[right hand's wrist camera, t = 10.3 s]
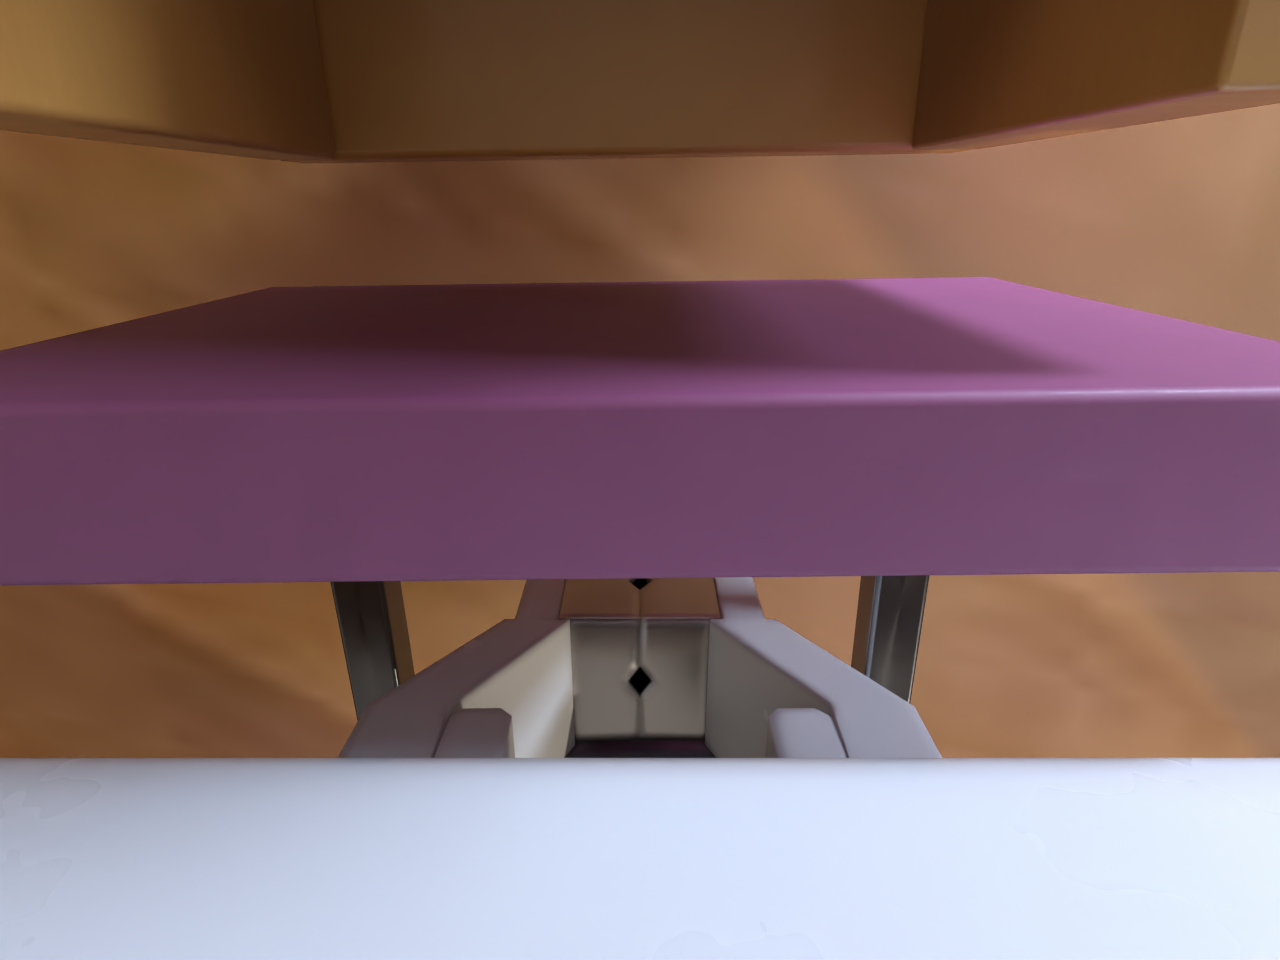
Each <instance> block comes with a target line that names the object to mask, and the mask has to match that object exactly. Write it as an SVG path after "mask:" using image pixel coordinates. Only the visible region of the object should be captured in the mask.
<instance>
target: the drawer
mask: <svg viewBox="0 0 1280 960" xmlns="http://www.w3.org/2000/svg"><path fill="white" fill-rule="evenodd" d="M1276 103H1280V0H0V130H5V131H15V132H24V133H33V134H42V135H51V136H60V137H69V138H78V139H87V140H97V141H106V142H115V143H124V144H133V145H142V146H151V147H160V148H170V149H179V150H188V151H197V152H206V153H215V154H224V155H233V156H242V157H252V158H261V159H270V160H281V161H288V162H298V163H359V162H422V161H486V160H549V159H613V158H676V157H740V156H803V155H867V154H930V153H953V152H959V151H966V150H970V149H982V148H989V147H995V146H1002V145H1008V144H1015V143H1021V142H1028V141H1034V140H1041V139H1047V138H1054V137H1061V136H1067V135H1074V134H1080V133H1087V132H1093V131H1100V130H1106V129H1113V128H1119V127H1126V126H1132V125H1139V124H1146V123H1152V122H1159V121H1165V120H1172V119H1178V118H1185V117H1191V116H1198V115H1204V114H1211V113H1217V112H1224V111H1231V110H1237V109H1244V108H1250V107H1257V106H1263V105H1270V104H1276ZM1272 571H1280V342H1278V341H1274V340H1269V339H1265V338H1260V337H1256V336H1251V335H1247V334H1242V333H1238V332H1233V331H1229V330H1224V329H1220V328H1215V327H1211V326H1206V325H1202V324H1197V323H1193V322H1188V321H1184V320H1179V319H1175V318H1170V317H1166V316H1161V315H1157V314H1152V313H1148V312H1143V311H1139V310H1134V309H1130V308H1125V307H1121V306H1116V305H1112V304H1107V303H1103V302H1098V301H1094V300H1089V299H1085V298H1080V297H1076V296H1071V295H1067V294H1062V293H1058V292H1053V291H1049V290H1044V289H1040V288H1035V287H1031V286H1026V285H1022V284H1017V283H1013V282H1008V281H1004V280H999V279H995V278H990V277H954V278H884V279H814V280H744V281H674V282H604V283H533V284H463V285H393V286H323V287H271V288H267V289H262V290H258V291H254V292H250V293H245V294H241V295H237V296H233V297H228V298H224V299H220V300H216V301H211V302H207V303H203V304H198V305H194V306H190V307H186V308H181V309H177V310H173V311H169V312H164V313H160V314H156V315H152V316H147V317H143V318H139V319H134V320H130V321H126V322H122V323H117V324H113V325H109V326H105V327H100V328H96V329H92V330H87V331H83V332H79V333H75V334H70V335H66V336H62V337H58V338H53V339H49V340H45V341H41V342H36V343H32V344H28V345H23V346H19V347H15V348H11V349H6V350H2V351H0V585H63V584H156V583H249V582H331V587H332V592H333V597H334V602H335V607H336V612H337V618H338V623H339V628H340V633H341V638H342V643H343V648H344V653H345V658H346V664H347V669H348V674H349V679H350V684H351V689H352V694H353V699H354V704H355V710H356V715H357V720H359V718H360V716H361V714H362V713H363V711H364V709H365V707H366V705H368V704H370V703H371V702H373V701H374V700H376V699H378V698H379V697H381V696H382V695H384V694H386V693H387V692H389V691H390V690H392V689H394V688H395V687H397V686H398V685H400V684H402V683H403V682H405V681H406V680H408V679H410V678H411V677H413V676H414V675H415V674H414V667H413V661H412V655H411V648H410V642H409V635H408V629H407V622H406V616H405V609H404V603H403V597H402V590H401V584H400V581H435V580H528V579H621V578H714V577H807V576H861V582H860V591H859V600H858V609H857V618H856V627H855V636H854V645H853V654H852V663H851V667H852V668H854V669H855V670H857V671H859V672H860V673H862V674H863V675H865V676H867V677H868V678H870V679H871V680H873V681H875V682H876V683H878V684H879V685H881V686H883V687H884V688H886V689H887V690H889V691H891V692H892V693H894V694H895V695H897V696H898V697H900V698H902V699H903V700H905V701H906V702H908V703H910V700H911V693H912V687H913V680H914V673H915V667H916V660H917V654H918V647H919V640H920V634H921V627H922V620H923V614H924V607H925V601H926V594H927V587H928V581H929V575H993V574H1086V573H1179V572H1272ZM564 758H716V757H715V756H714V755H713V753H712V752H711V751H710V750H709V749H708V747H707V746H706V744H705V741H692V740H614V741H578V742H575V746H574V747H573V748H572V749H571V750H570V751H569V753H568V754H567V755H566V756H565V757H564Z"/></svg>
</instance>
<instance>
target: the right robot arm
mask: <svg viewBox="0 0 1280 960" xmlns="http://www.w3.org/2000/svg"><path fill="white" fill-rule="evenodd" d="M614 740H692V741H705V744H706V746H707V747H708V749H709V750H710V751H711V752H712V753H713V755H714V756H715V757H716V758H564V757H565V756H566V755H567V754H568V753H569V751H570V750H571V749H572V748H573V747H574V746H575V742H578V741H614ZM0 960H1280V758H942V757H941V755H940V753H939V751H938V749H937V748H936V746H935V744H934V742H933V740H932V738H931V736H930V735H929V733H928V731H927V729H926V727H925V725H924V723H923V722H922V720H921V718H920V716H919V714H918V712H917V710H916V709H915V707H914V706H913V705H911V704H910V703H908V702H906V701H905V700H903V699H902V698H900V697H898V696H897V695H895V694H894V693H892V692H891V691H889V690H887V689H886V688H884V687H883V686H881V685H879V684H878V683H876V682H875V681H873V680H871V679H870V678H868V677H867V676H865V675H863V674H862V673H860V672H859V671H857V670H855V669H854V668H852V667H851V666H849V665H847V664H846V663H844V662H843V661H841V660H839V659H838V658H836V657H835V656H833V655H831V654H830V653H828V652H827V651H825V650H823V649H822V648H820V647H819V646H817V645H815V644H814V643H812V642H811V641H809V640H807V639H806V638H804V637H803V636H801V635H799V634H798V633H796V632H795V631H793V630H791V629H790V628H788V627H787V626H785V625H783V624H782V623H780V622H779V621H777V620H775V619H765V618H764V614H763V611H762V608H761V604H760V601H759V598H758V595H757V591H756V588H755V585H754V581H753V578H752V577H714V578H621V579H528V580H526V584H525V587H524V590H523V594H522V597H521V600H520V604H519V607H518V610H517V614H516V617H515V619H504V620H503V621H501V622H500V623H498V624H496V625H495V626H493V627H492V628H490V629H488V630H487V631H485V632H484V633H482V634H480V635H479V636H477V637H476V638H474V639H472V640H471V641H469V642H467V643H466V644H464V645H463V646H461V647H459V648H458V649H456V650H455V651H453V652H451V653H450V654H448V655H447V656H445V657H443V658H442V659H440V660H439V661H437V662H435V663H434V664H432V665H431V666H429V667H427V668H426V669H424V670H423V671H421V672H419V673H418V674H416V675H414V676H413V677H411V678H410V679H408V680H406V681H405V682H403V683H402V684H400V685H398V686H397V687H395V688H394V689H392V690H390V691H389V692H387V693H386V694H384V695H382V696H381V697H379V698H378V699H376V700H374V701H373V702H371V703H370V704H368V705H366V707H365V709H364V711H363V713H362V714H361V716H360V718H359V720H358V722H357V724H356V725H355V727H354V729H353V731H352V733H351V735H350V736H349V738H348V740H347V742H346V744H345V746H344V747H343V749H342V751H341V753H340V755H339V757H338V758H0Z"/></svg>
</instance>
